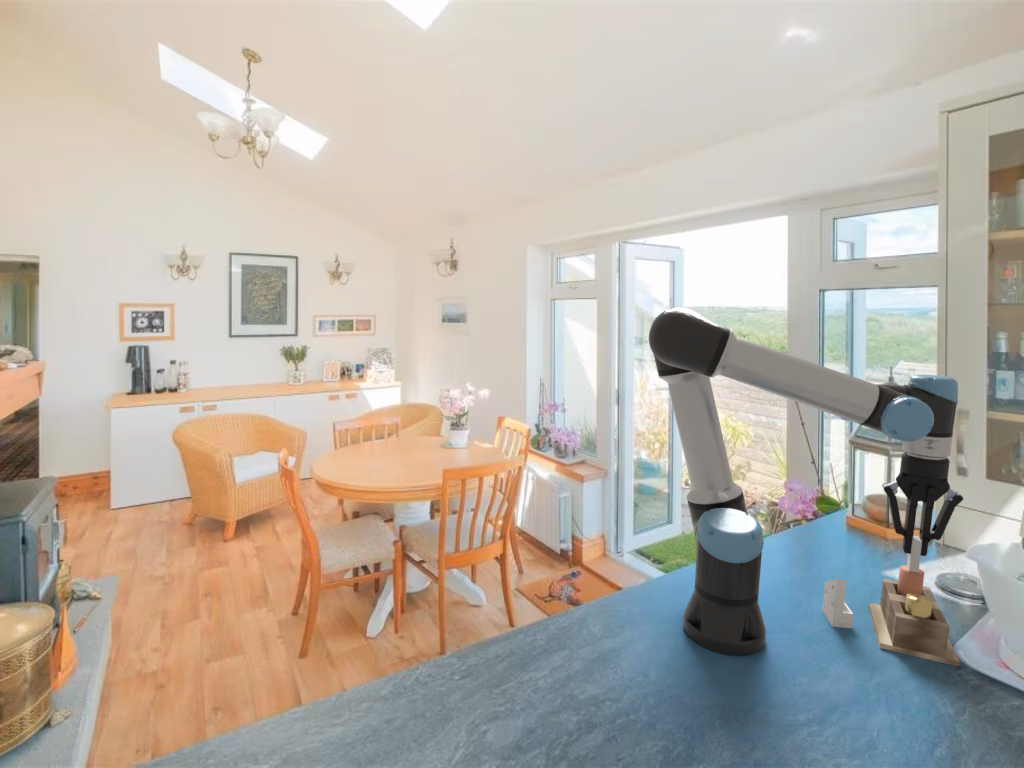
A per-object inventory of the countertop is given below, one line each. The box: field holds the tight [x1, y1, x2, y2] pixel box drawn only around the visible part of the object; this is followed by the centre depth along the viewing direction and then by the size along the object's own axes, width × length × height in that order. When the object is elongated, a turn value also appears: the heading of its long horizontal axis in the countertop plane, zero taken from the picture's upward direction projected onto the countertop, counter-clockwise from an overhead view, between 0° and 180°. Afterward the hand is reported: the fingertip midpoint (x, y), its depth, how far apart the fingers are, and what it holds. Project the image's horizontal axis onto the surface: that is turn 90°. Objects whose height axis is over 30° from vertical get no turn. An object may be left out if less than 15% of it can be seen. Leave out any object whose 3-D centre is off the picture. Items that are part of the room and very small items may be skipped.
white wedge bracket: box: [821, 579, 854, 629], centre depth 113 cm, size 4×10×9 cm, turn 169°
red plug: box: [897, 564, 925, 596], centre depth 111 cm, size 4×4×8 cm
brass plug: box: [904, 593, 933, 619], centre depth 105 cm, size 4×4×8 cm
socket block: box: [868, 578, 960, 667], centre depth 108 cm, size 12×16×7 cm
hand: (912, 568), depth 111 cm, fingers closed
